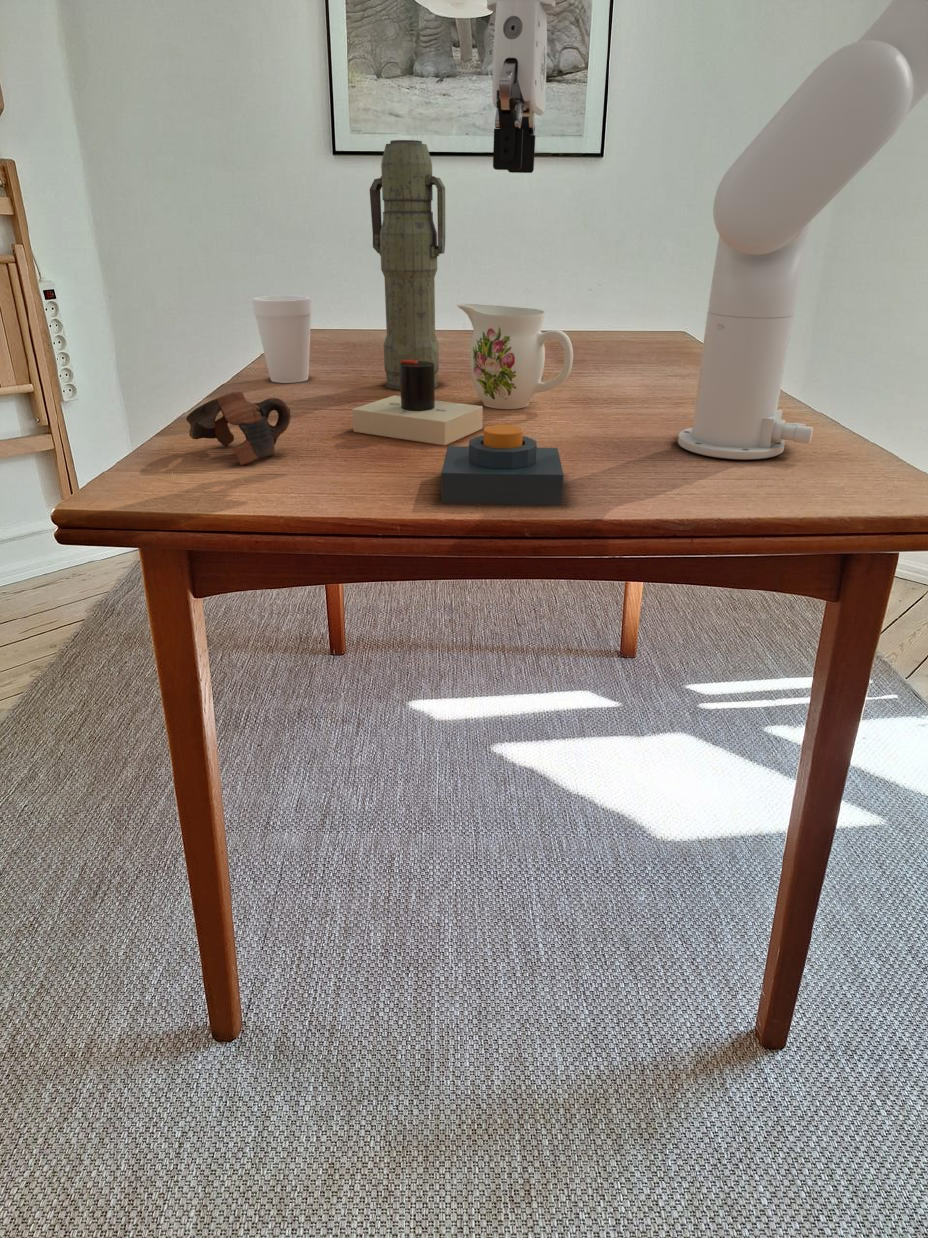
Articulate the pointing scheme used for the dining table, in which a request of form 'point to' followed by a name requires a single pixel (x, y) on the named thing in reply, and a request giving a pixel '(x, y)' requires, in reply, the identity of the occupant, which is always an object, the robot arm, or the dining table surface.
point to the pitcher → (511, 354)
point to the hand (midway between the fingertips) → (514, 170)
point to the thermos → (408, 253)
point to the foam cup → (285, 335)
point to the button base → (502, 474)
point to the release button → (502, 436)
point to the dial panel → (418, 421)
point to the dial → (417, 385)
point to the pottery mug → (241, 424)
